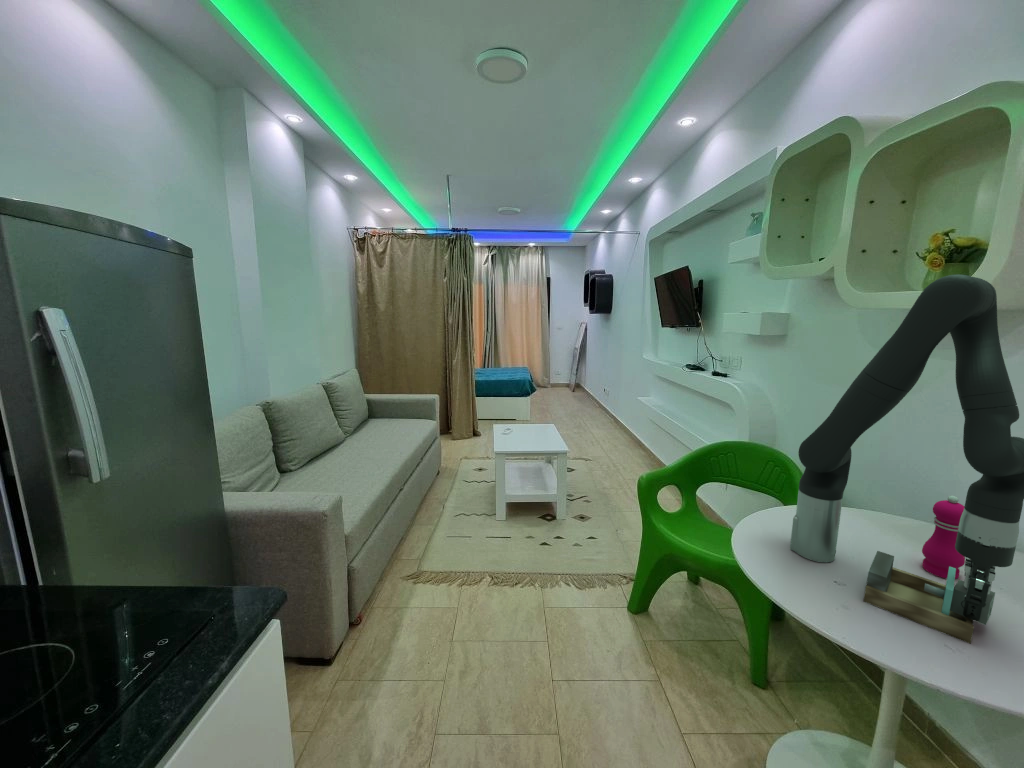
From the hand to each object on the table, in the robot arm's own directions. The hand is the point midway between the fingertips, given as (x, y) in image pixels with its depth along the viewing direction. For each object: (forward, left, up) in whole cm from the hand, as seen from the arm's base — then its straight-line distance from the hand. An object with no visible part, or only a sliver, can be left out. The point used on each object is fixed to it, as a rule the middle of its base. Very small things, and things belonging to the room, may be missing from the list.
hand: (971, 610), depth 83 cm
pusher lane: (-8, 0, -3) cm, 8 cm away
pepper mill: (-5, +20, -4) cm, 21 cm away
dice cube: (0, 0, -1) cm, 1 cm away
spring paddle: (-5, 0, -2) cm, 5 cm away
